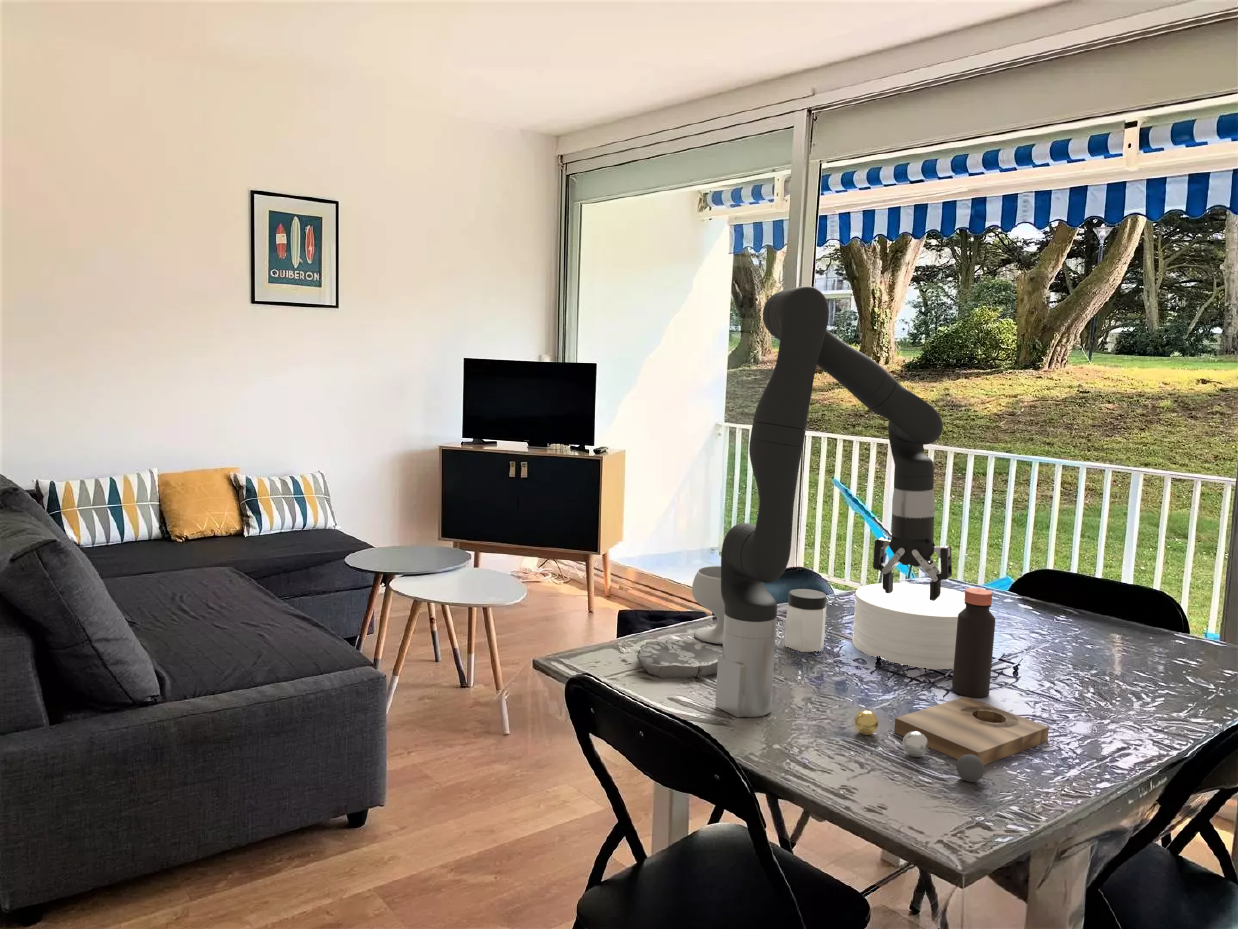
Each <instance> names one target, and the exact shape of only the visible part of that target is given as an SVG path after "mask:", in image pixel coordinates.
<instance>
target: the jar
mask: <svg viewBox="0 0 1238 929" xmlns="http://www.w3.org/2000/svg"><path fill="white" fill-rule="evenodd" d="M787 599H788V600H787V603H788V604H787V606H786V616H785V617H786V619H785V635H784V647H785V646H786V647H785V648H787V647H789V648H788V649H790V648H791V650H793V651H796V650H798V651H797V652H799V651H800V653H820V652H821V651H822V649H823V648H824V645H825V644H824V643H825V630H826V616H827V615H826V614H827V595H826V593H824V592H822V591H819V590H815V589H809V588H808V589H807V588H796V589H791V590H789V592H788V598H787ZM814 651H816V652H814ZM818 651H819V652H818Z"/></svg>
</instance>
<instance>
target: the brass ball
mask: <svg viewBox="0 0 1238 929" xmlns="http://www.w3.org/2000/svg"><path fill="white" fill-rule="evenodd" d="M853 723H854V724H853V725H854V727H855V729H856V730H857V731H858V732H859V733H860V734H862V735H864V736H869V735H872V734H874V733H876V731H877V730H878V728H879V718H878V717H877V715H876V714H875V713H874V712H872V711H871V710H866V709H865V710H861V711H859V712H858V713H857V714H856V715H855V717H854V720H853Z"/></svg>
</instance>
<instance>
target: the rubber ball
mask: <svg viewBox="0 0 1238 929" xmlns="http://www.w3.org/2000/svg"><path fill="white" fill-rule="evenodd" d="M956 772H957V774H958V776H959V777H960V779H963V781H966V782H968V783H975V782H978V781H980V780H981V779H982V778H983V776H984V774H985V765H984V764H983V762H982V761H981V760H980V759H979V758H978V757H977V756H975V755H972V754H966V755H963V756H962V757H960V758H959V760H958V759H957V761H956Z"/></svg>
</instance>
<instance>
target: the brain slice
mask: <svg viewBox="0 0 1238 929" xmlns="http://www.w3.org/2000/svg"><path fill="white" fill-rule="evenodd" d="M639 648H640V649H638V652H637V654H636V658H637V660H638V662H639V663H640V665H641V666H642V667H643V668H644V669H645V670H646V672H647V673H648V674H649V675H653V676H654V677H659V678H681V679H682V678H685V679H687V678H696V677H698V678H702V677H707V676H709V675H713V674H714V675H715V674H717V665H718V656H719V655H722V650H723V647H721V646H718V645H712V644H710V643H707V642H705V643H704V642H700V641H695V640H688V639H677V638H675V639H674V638H672V639H671V638H669V639H667V640H665V641H661V640H658V641H657V640H656V641H654V640H653V641H647V642H646V643H645V644H642V645H641V646H640V647H639Z"/></svg>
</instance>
